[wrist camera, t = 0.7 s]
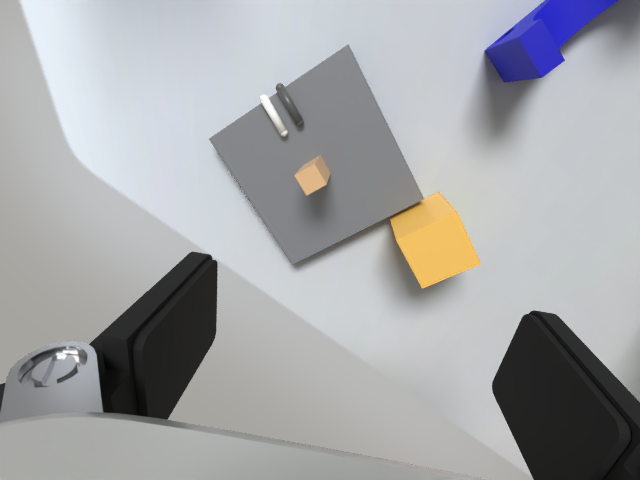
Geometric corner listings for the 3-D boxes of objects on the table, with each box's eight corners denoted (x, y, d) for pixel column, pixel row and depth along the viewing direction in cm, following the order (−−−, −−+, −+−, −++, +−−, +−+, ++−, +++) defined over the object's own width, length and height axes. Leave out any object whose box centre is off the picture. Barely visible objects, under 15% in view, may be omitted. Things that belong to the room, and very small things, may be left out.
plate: (421, 194, 31) (435, 214, 25) (295, 258, 35) (283, 287, 29) (346, 41, 27) (343, 26, 21) (212, 132, 31) (181, 139, 25)
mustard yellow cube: (459, 236, 32) (481, 263, 27) (411, 258, 33) (422, 288, 28) (438, 191, 31) (456, 211, 25) (389, 216, 32) (396, 240, 27)
